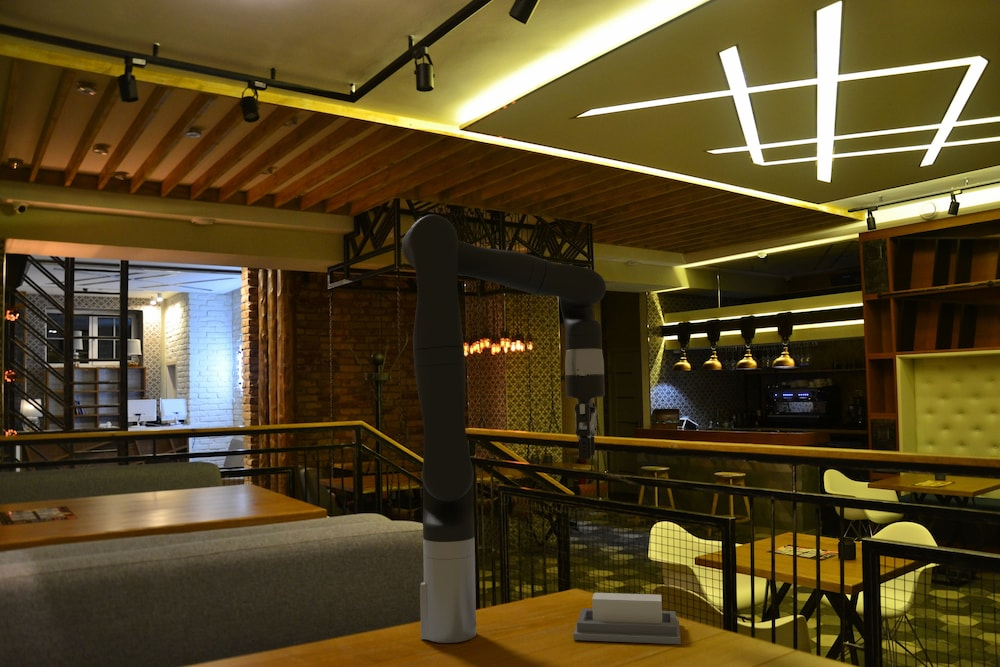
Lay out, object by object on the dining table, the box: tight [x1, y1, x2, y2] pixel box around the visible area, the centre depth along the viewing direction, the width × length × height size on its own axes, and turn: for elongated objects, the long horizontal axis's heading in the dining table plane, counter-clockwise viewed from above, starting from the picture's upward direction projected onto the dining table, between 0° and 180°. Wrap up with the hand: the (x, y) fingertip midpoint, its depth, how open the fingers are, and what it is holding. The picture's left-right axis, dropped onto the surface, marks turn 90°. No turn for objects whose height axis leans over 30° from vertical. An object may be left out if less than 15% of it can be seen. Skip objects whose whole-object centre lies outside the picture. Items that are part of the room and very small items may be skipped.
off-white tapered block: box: [591, 592, 663, 624], centre depth 138 cm, size 4×12×5 cm, turn 78°
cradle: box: [573, 607, 682, 645], centre depth 137 cm, size 12×18×2 cm, turn 79°
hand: (587, 457), depth 149 cm, fingers open, 8 cm apart
